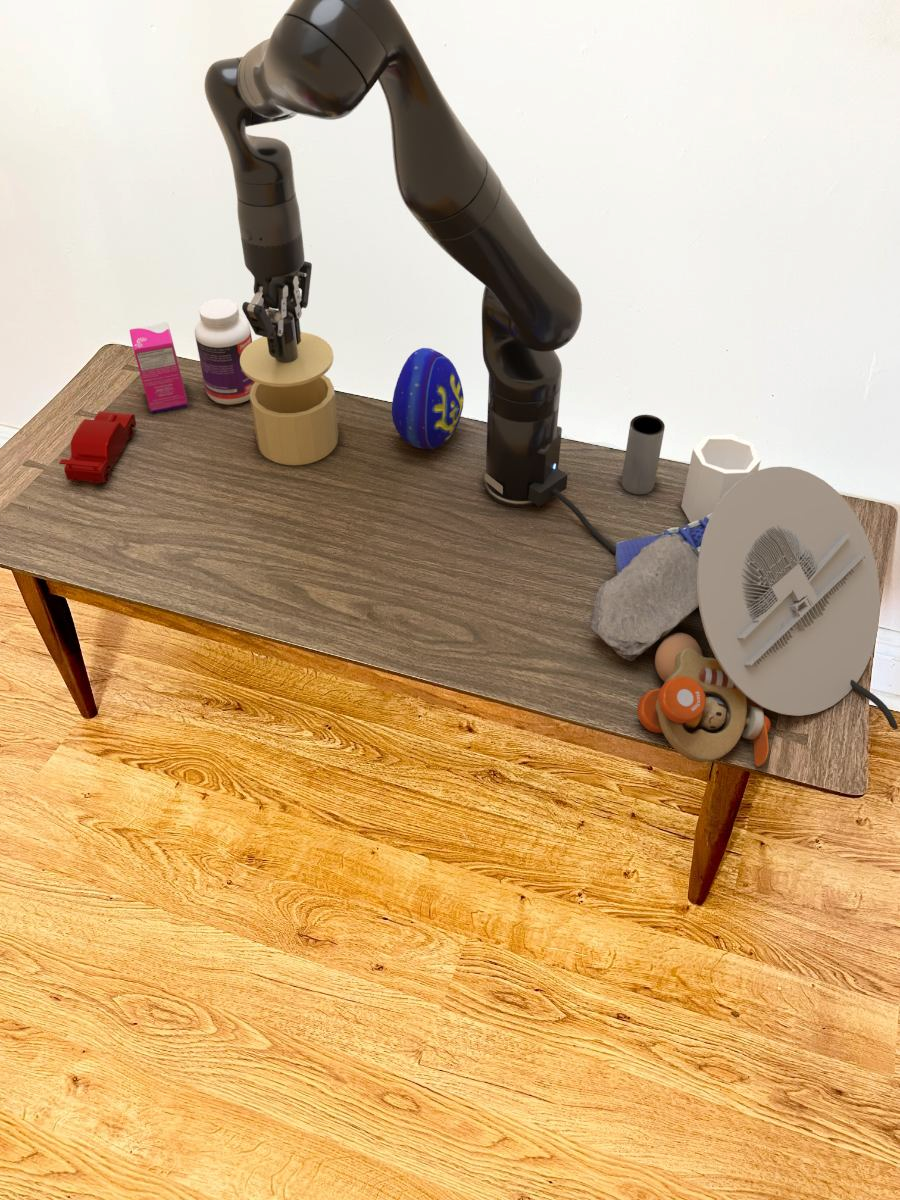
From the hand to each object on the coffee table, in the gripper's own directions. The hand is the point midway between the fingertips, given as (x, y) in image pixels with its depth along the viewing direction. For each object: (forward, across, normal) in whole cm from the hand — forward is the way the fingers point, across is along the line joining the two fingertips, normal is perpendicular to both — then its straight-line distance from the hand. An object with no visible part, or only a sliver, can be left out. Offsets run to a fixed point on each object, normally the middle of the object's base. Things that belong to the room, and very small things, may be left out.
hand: (285, 349), depth 144 cm
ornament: (+16, +8, -17) cm, 24 cm away
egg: (+13, -23, -63) cm, 69 cm away
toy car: (+16, -15, +23) cm, 32 cm away
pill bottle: (+16, +6, +15) cm, 23 cm away
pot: (+15, 0, 0) cm, 15 cm away
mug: (+15, +12, -59) cm, 62 cm away
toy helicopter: (+8, -22, -62) cm, 67 cm away
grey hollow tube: (+16, +11, -48) cm, 52 cm away
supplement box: (+16, 0, +23) cm, 28 cm away
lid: (+2, 0, 0) cm, 2 cm away
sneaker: (+16, -3, -63) cm, 65 cm away
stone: (+8, -13, -52) cm, 55 cm away
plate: (+5, -11, -72) cm, 73 cm away
